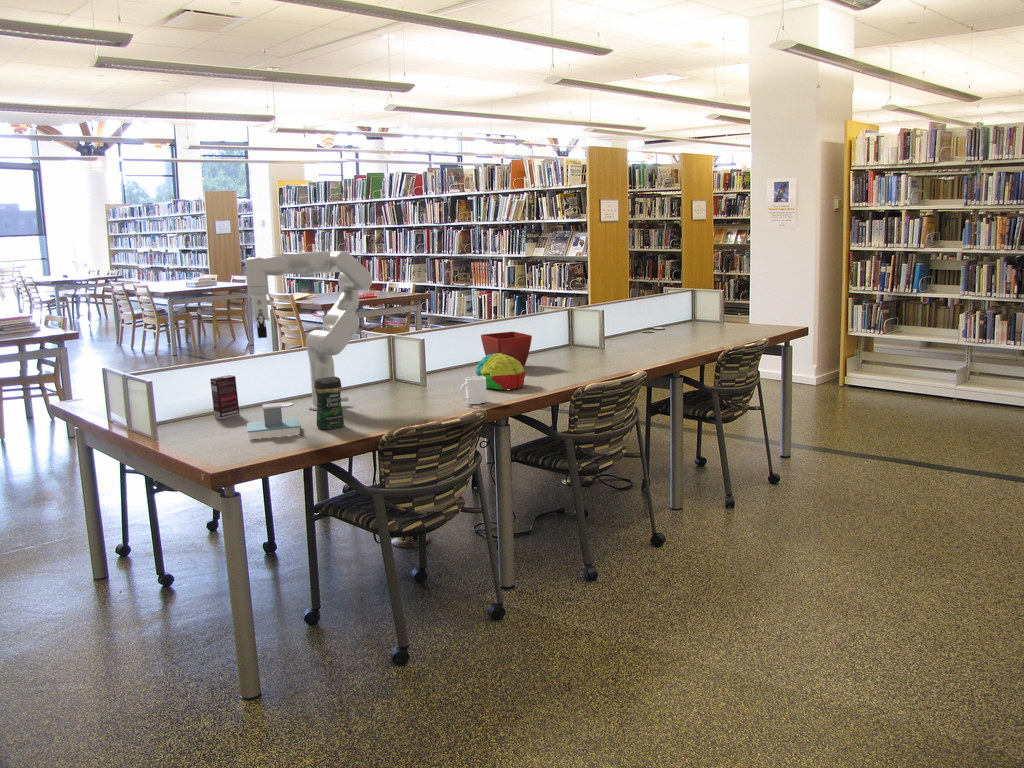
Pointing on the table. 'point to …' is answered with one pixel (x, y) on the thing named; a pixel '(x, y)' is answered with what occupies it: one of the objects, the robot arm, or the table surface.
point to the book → (273, 429)
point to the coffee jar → (328, 402)
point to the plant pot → (508, 345)
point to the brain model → (501, 371)
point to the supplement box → (224, 397)
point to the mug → (474, 390)
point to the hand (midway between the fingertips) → (262, 336)
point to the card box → (272, 414)
